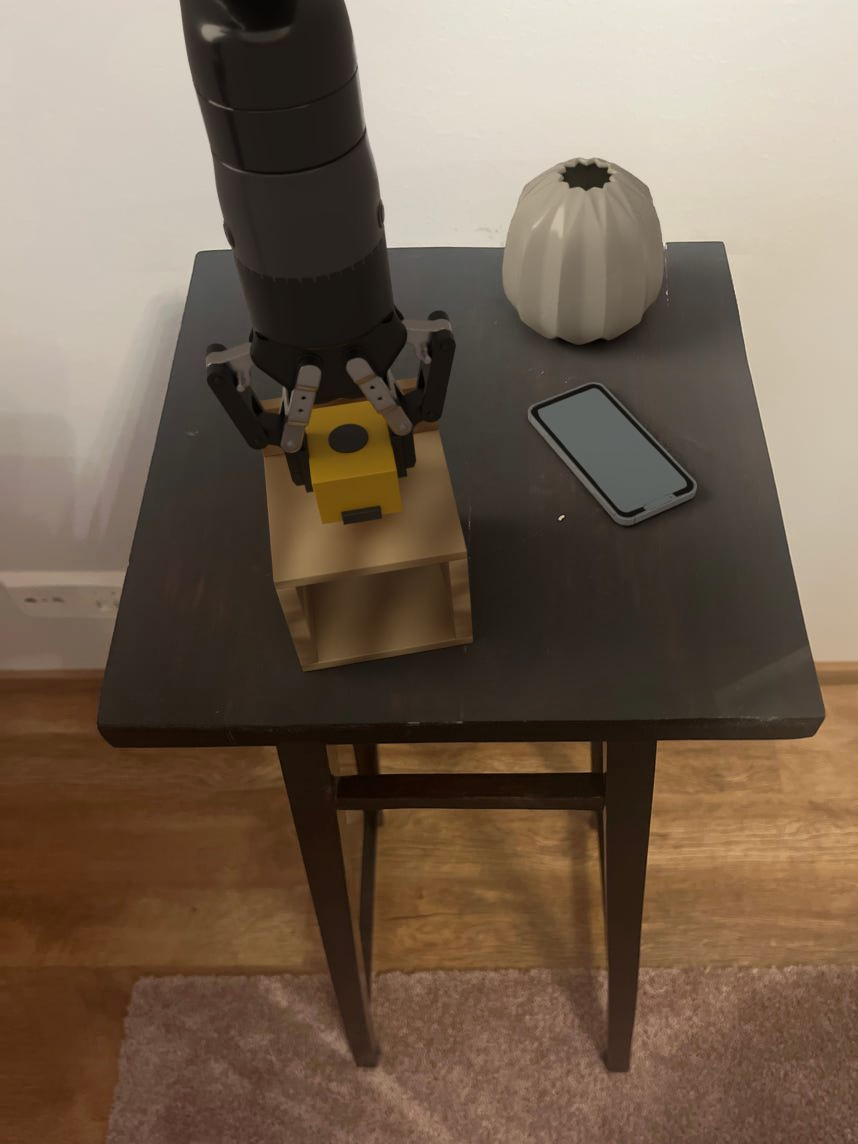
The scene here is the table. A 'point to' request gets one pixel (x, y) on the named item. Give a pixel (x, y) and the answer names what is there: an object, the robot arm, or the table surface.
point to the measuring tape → (352, 464)
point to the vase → (583, 252)
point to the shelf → (370, 563)
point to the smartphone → (612, 453)
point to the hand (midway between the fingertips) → (355, 474)
